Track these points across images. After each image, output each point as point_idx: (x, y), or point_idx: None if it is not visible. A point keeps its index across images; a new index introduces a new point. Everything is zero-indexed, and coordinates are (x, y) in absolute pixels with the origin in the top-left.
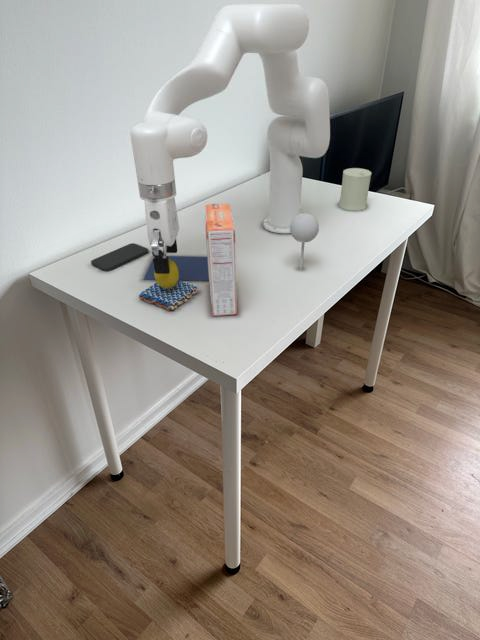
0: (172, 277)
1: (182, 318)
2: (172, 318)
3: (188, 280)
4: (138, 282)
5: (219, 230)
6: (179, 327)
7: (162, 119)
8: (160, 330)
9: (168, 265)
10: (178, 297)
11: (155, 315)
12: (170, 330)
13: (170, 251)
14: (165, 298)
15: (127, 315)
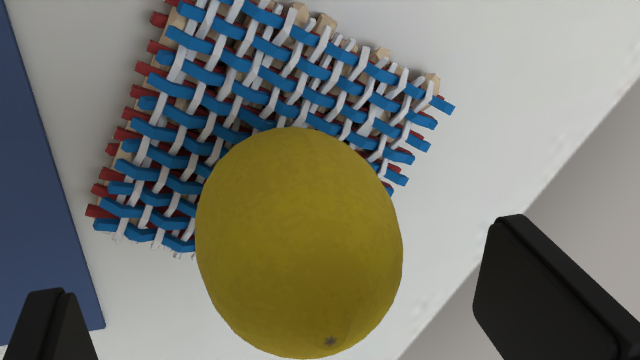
0: (374, 174)
1: (496, 4)
2: (489, 62)
3: (23, 68)
4: (140, 334)
5: None
6: (575, 2)
7: None
8: (578, 94)
9: (573, 264)
10: (356, 76)
11: (453, 155)
12: (589, 45)
13: (89, 350)
14: (381, 150)
15: (442, 266)
